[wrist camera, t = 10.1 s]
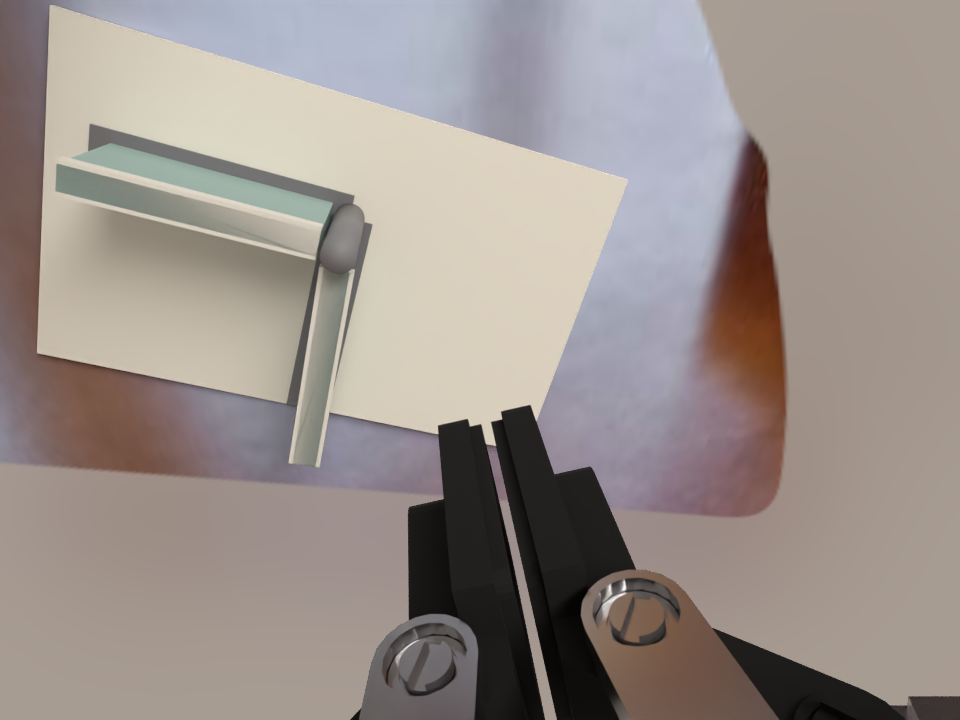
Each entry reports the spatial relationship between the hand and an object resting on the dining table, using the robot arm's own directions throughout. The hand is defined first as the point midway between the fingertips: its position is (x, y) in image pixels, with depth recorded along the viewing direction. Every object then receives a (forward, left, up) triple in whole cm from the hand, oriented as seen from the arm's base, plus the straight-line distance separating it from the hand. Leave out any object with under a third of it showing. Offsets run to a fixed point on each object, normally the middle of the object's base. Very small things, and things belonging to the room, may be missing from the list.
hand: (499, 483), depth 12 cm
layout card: (+6, -4, -27) cm, 28 cm away
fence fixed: (+3, -10, -27) cm, 29 cm away
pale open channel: (+9, -4, -26) cm, 28 cm away
